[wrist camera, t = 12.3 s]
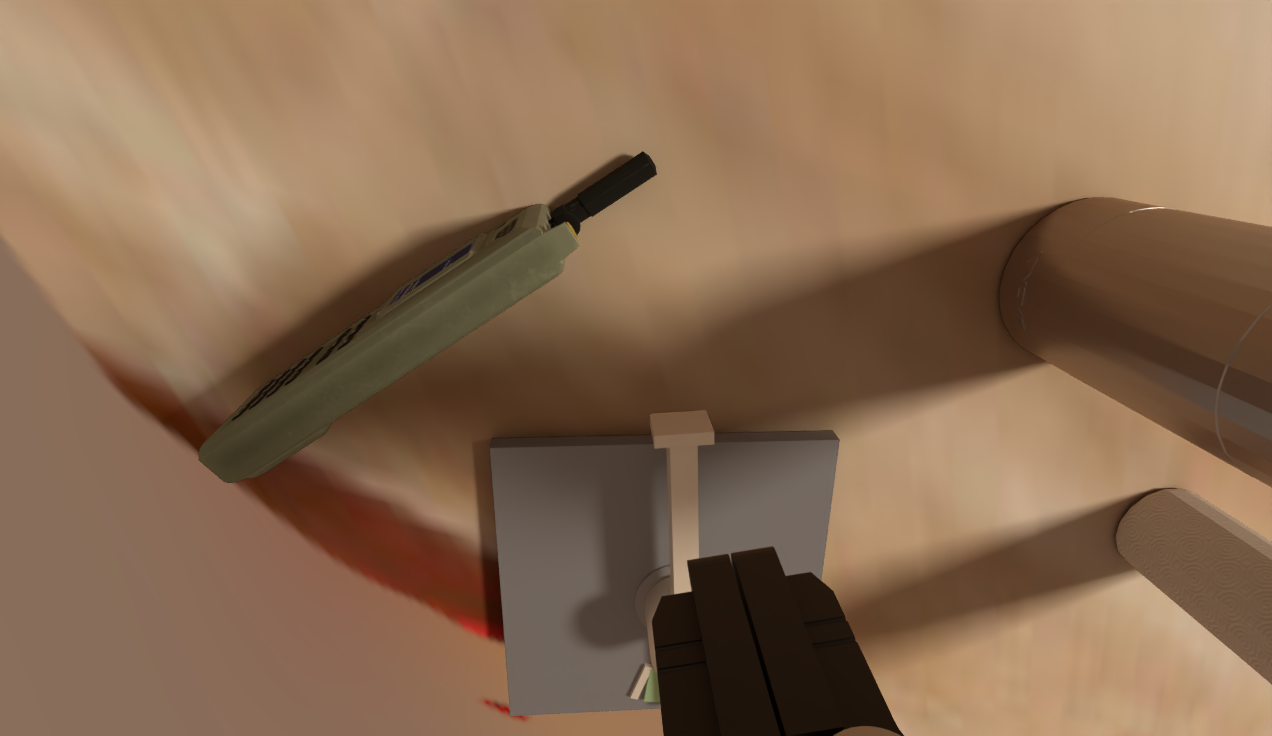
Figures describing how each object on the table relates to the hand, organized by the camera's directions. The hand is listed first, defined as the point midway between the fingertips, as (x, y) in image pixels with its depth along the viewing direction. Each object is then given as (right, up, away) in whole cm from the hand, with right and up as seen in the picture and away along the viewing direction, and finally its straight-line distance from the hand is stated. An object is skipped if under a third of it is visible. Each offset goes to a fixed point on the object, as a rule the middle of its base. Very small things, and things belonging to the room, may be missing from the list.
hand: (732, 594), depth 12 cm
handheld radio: (-12, +8, +25) cm, 28 cm away
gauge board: (0, -9, +32) cm, 33 cm away
